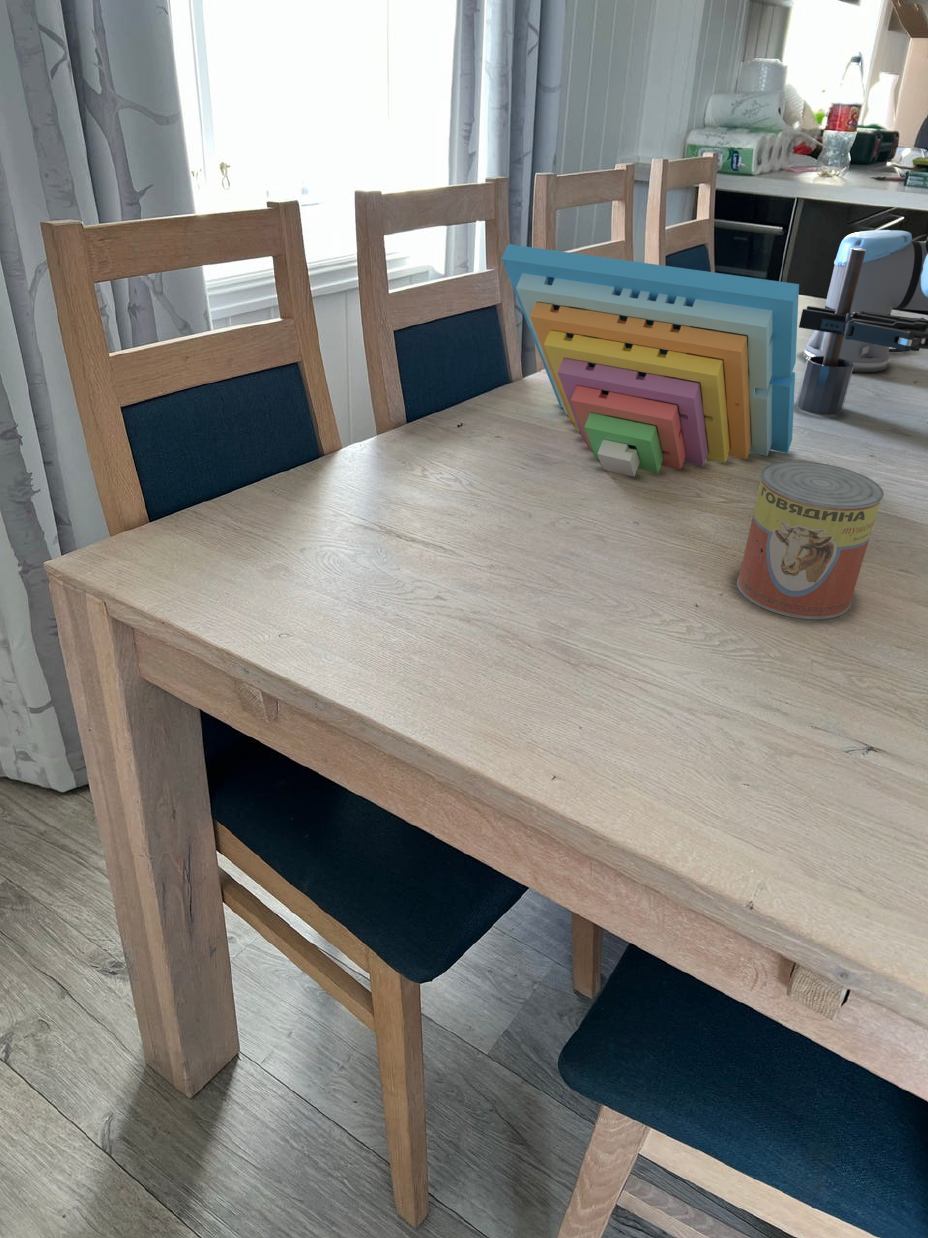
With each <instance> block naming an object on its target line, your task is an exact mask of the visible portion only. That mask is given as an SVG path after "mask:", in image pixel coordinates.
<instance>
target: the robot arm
mask: <svg viewBox="0 0 928 1238" xmlns="http://www.w3.org/2000/svg"><path fill="white" fill-rule="evenodd" d="M912 235H913V234H912V233H911V232H909V231H905V230H895V229H894V230H893V229H891V230H890V229H875V230H863V231H858V232H857V231H856V232H853V233H850V234H848V235H846V236H845V237H844V238H843V239H842V240H841V242H840V244H839V248H838V251H837V254H836V257H835V259H834V261H833V264H834V266H833V270H832V275H831V279H830V283H829V287H828V292H827V296H826V300H825V304H824V307H818V306H811V305H807V306H806V308H803V309H802V310H801V311H802V312H801V316H800V319H799V324H798V328H799V329H805V330H811V331H813V332H812V334H811V336H810V337H809V339H808V341H807V343H806V345H805V346H804V350H803V354H802V357H803V358H804V359H805V361H806V360H807V358H808V357H810V356H824V355H825V350H826V346H827V342H828V338H829V334H830V333H835V334H841V335H844V339H843V343H842V347H841V351H840V355H839V358H841V359H845V360H848V361H850V362H852V363H853V364H854V367H853V371H852V373H877V372H882V371H885V370H886V369H887V367H888V364H889V360H890V353H907V352H920V349H921V350H922V349H924V350H928V319H926V318H924V317H909V316H901V315H894V314H893V315H892V311H893V309H900V310H911V311H912V310H913V311H925V312H928V236H927V237H926V239H925V241H924V240H923V241H920V240H919V241H918V240H913V237H912ZM851 248H860V249H865V250H866V252H865V256H864V260H863V264H862V268H861V272H860V276H859V280H858V284H857V288H856V292H855V296H854V300H853V304H852V308H851V312H850V313H847V315H840V314H835V309H836V305H837V301H838V297H839V293H840V289H841V285H842V281H843V277H844V272H845V268H846V264H847V260H848V256H849V252H850V249H851Z"/></svg>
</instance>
